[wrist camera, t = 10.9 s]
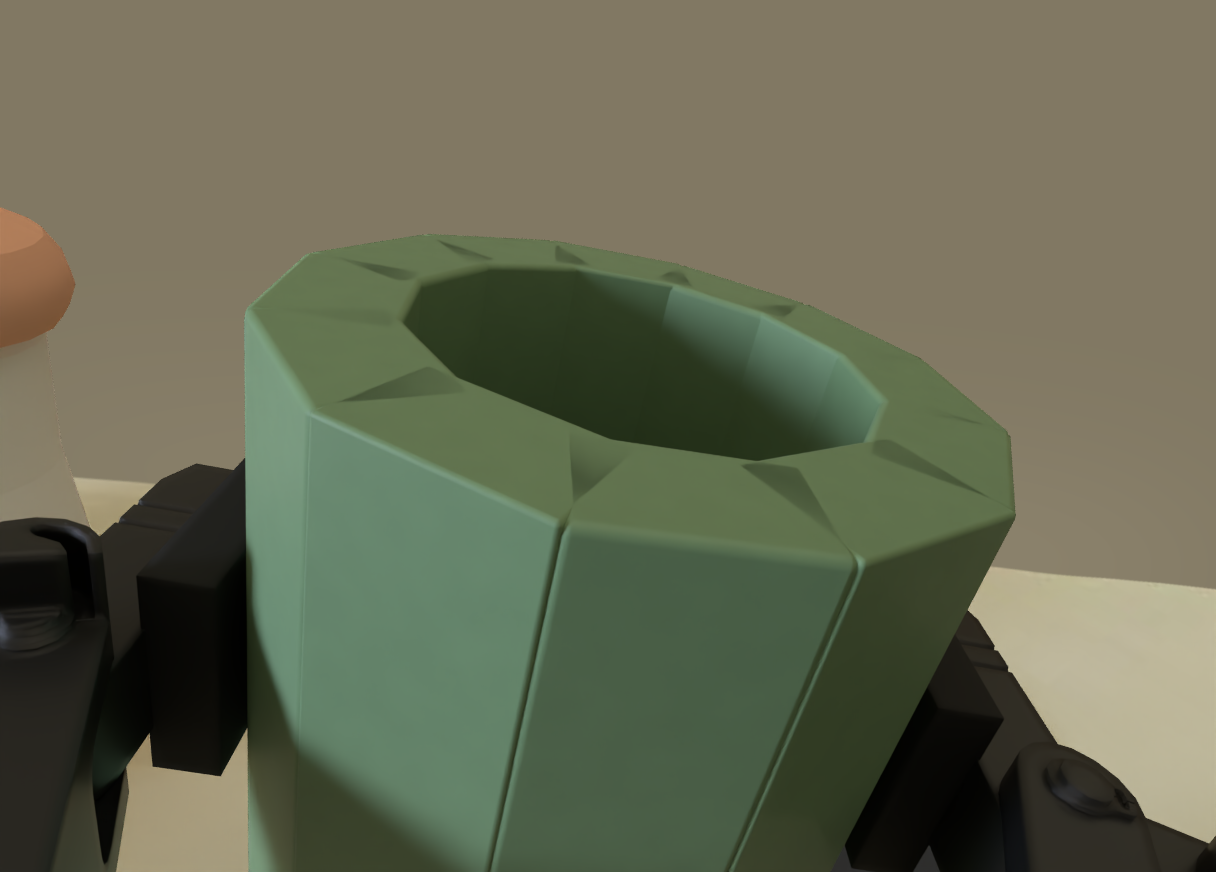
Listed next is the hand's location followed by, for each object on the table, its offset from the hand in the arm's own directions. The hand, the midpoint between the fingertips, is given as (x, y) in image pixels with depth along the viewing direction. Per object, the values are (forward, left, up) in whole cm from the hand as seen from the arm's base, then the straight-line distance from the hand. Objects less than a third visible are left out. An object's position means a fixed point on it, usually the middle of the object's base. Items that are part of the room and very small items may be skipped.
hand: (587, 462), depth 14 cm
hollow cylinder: (0, +5, -6) cm, 8 cm away
